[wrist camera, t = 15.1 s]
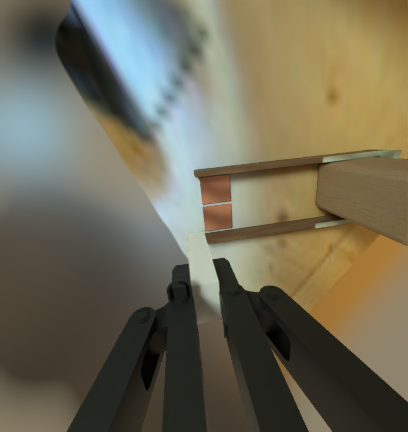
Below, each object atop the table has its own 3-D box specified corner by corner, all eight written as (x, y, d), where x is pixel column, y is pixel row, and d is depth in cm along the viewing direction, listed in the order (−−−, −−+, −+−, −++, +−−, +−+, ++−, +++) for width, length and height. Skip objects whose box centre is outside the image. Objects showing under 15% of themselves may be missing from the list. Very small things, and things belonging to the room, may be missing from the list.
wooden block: (354, 200, 45) (476, 238, 27) (313, 206, 45) (410, 250, 26) (360, 155, 42) (507, 163, 23) (316, 162, 41) (431, 175, 23)
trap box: (193, 169, 39) (196, 174, 33) (371, 149, 42) (401, 150, 36) (201, 237, 44) (205, 251, 38) (358, 215, 47) (383, 224, 41)
